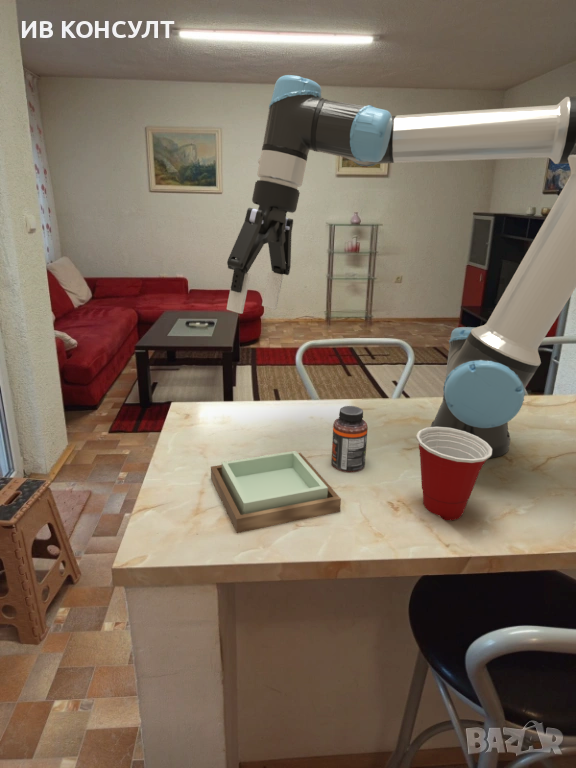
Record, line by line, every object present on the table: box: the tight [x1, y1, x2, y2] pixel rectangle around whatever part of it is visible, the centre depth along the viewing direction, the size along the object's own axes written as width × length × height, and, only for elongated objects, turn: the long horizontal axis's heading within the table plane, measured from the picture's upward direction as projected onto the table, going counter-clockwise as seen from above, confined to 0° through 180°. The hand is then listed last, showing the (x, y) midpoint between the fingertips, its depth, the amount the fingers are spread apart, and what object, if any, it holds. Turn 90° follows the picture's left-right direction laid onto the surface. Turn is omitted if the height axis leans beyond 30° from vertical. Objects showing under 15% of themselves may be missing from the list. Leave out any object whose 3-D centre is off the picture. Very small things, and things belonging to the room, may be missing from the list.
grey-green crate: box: [221, 450, 328, 515], centre depth 81 cm, size 13×13×4 cm
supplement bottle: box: [330, 405, 369, 473], centre depth 89 cm, size 6×6×11 cm
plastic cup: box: [416, 426, 492, 521], centre depth 77 cm, size 11×11×12 cm
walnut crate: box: [210, 452, 342, 534], centre depth 81 cm, size 16×16×3 cm
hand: (252, 309), depth 91 cm, fingers open, 13 cm apart
